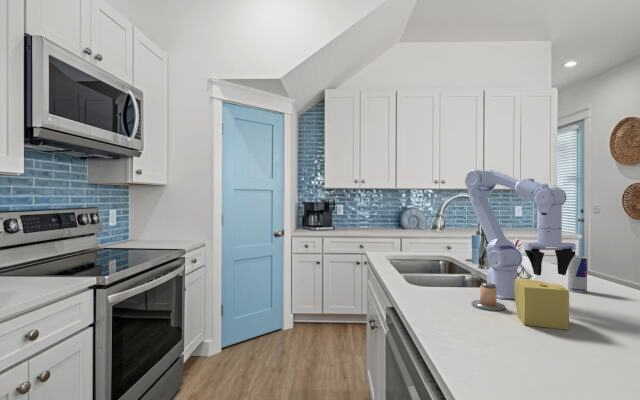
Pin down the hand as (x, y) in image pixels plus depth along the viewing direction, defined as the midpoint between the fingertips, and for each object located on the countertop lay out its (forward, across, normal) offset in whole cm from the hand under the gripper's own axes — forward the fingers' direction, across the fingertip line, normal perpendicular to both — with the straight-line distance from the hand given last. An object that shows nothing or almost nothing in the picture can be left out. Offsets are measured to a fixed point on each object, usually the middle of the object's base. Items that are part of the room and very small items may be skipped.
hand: (549, 274), depth 103 cm
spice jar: (+9, -17, +3) cm, 20 cm away
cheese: (+10, -11, -11) cm, 18 cm away
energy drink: (+10, +25, +19) cm, 33 cm away
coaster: (+10, -17, +3) cm, 20 cm away
